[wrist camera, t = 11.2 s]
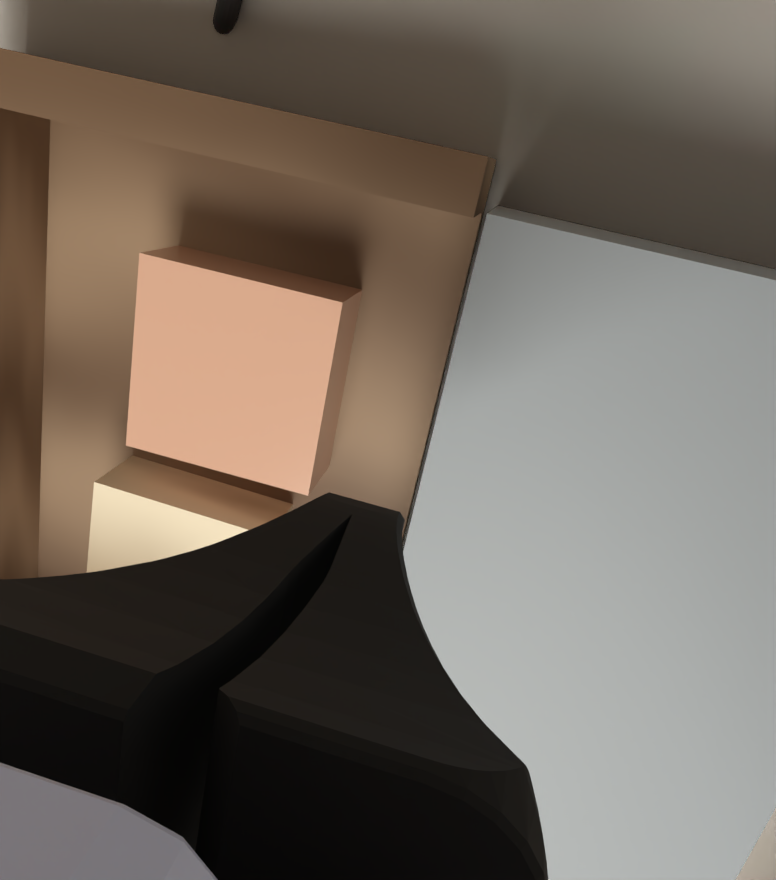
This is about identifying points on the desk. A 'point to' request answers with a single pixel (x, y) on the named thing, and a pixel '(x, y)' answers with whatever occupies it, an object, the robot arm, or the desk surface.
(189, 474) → the ash tile
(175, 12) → the desk surface
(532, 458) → the slate slab
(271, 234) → the walnut box
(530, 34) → the desk surface
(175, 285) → the terracotta tile
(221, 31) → the glasses
